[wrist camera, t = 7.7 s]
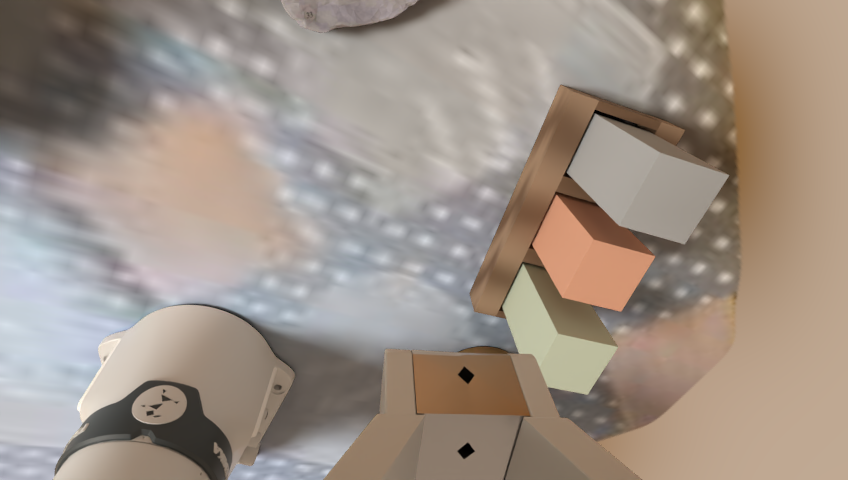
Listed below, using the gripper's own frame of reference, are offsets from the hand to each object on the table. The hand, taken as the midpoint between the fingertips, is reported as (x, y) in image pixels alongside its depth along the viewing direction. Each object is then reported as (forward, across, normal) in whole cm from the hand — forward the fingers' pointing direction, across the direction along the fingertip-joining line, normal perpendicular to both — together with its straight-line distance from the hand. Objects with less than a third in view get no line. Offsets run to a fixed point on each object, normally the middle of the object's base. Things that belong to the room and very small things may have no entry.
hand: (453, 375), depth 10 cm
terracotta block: (+30, -15, +10) cm, 35 cm away
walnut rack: (+31, -15, +10) cm, 36 cm away
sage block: (+29, -14, +17) cm, 36 cm away
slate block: (+29, -17, +3) cm, 33 cm away
